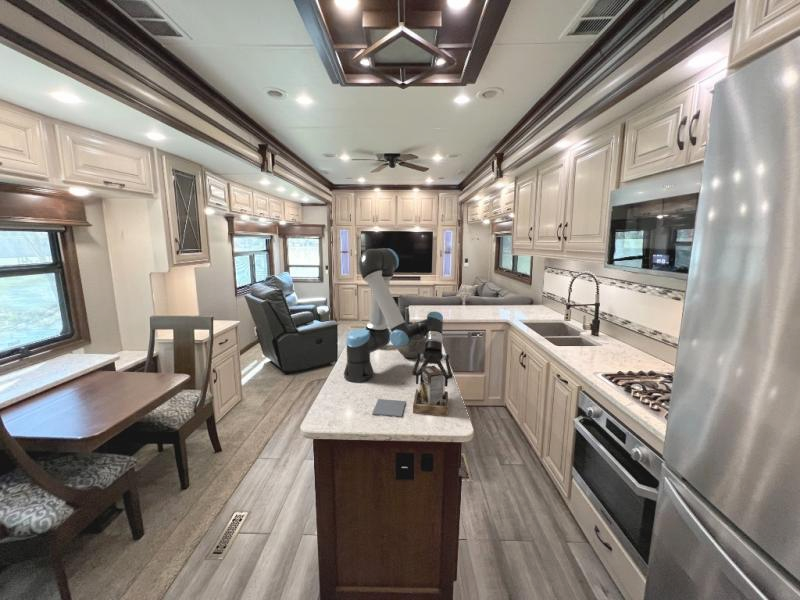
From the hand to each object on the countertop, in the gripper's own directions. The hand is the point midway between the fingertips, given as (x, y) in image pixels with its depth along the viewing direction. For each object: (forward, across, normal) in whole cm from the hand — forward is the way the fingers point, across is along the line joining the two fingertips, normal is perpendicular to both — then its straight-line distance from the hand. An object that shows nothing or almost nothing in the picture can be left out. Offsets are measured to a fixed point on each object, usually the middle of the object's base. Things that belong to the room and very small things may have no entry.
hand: (431, 392), depth 133 cm
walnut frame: (+3, 0, +8) cm, 8 cm away
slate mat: (+7, -17, +4) cm, 19 cm away
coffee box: (+3, 0, +8) cm, 8 cm away
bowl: (-36, -14, +47) cm, 61 cm away
